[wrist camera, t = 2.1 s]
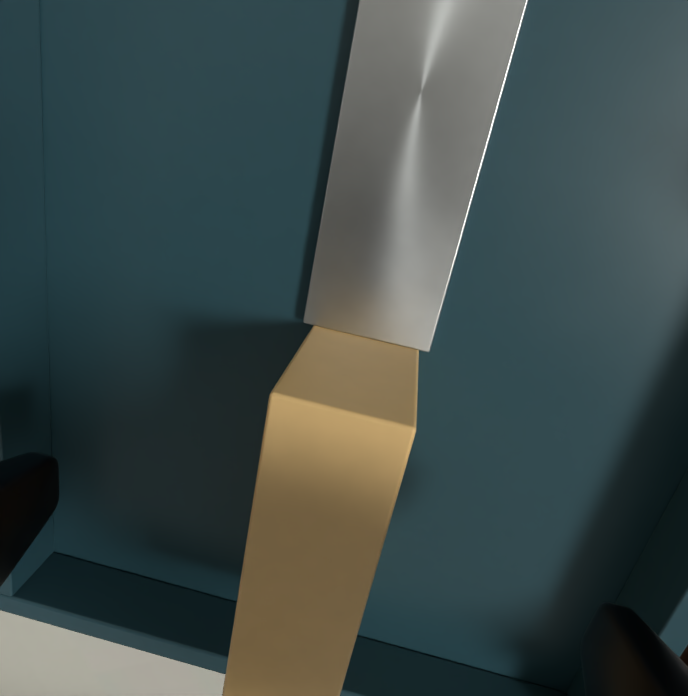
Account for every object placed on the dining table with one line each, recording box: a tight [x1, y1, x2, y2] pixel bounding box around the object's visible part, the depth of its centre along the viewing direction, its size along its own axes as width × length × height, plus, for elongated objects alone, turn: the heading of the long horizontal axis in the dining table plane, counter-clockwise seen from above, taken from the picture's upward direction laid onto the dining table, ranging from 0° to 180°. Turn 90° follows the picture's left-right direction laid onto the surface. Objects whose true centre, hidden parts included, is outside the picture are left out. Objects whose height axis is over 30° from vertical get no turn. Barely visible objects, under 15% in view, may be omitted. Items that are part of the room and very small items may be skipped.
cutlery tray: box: [0, 0, 688, 696], centre depth 10 cm, size 20×15×2 cm
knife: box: [222, 0, 528, 696], centre depth 9 cm, size 16×3×3 cm, turn 169°
